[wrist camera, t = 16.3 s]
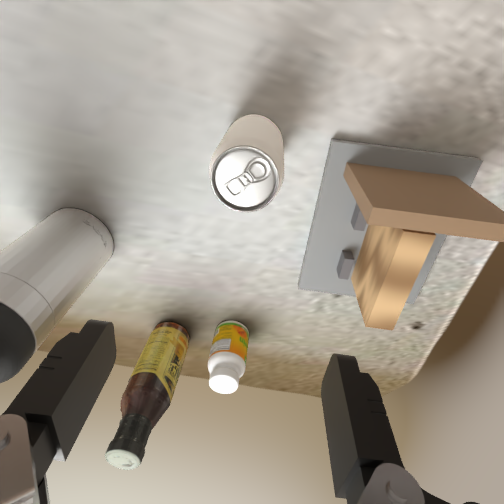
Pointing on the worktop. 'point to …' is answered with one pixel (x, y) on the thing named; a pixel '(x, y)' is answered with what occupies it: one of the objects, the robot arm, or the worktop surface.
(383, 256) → the long tan wooden block
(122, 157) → the worktop surface
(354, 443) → the robot arm
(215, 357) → the supplement bottle
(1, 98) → the worktop surface
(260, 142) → the can
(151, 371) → the sauce bottle
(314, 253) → the grey and brown stand
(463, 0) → the worktop surface
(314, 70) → the worktop surface
